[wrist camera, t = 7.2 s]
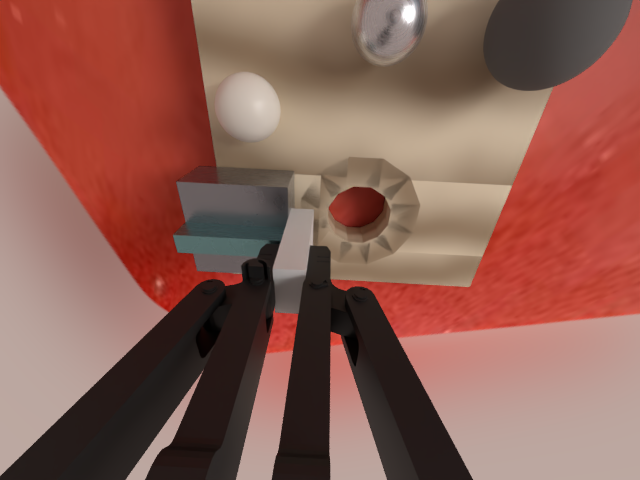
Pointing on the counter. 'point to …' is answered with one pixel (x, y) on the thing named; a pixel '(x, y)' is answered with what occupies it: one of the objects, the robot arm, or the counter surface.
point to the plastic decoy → (247, 107)
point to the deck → (378, 129)
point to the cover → (232, 214)
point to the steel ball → (388, 29)
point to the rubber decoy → (549, 39)
